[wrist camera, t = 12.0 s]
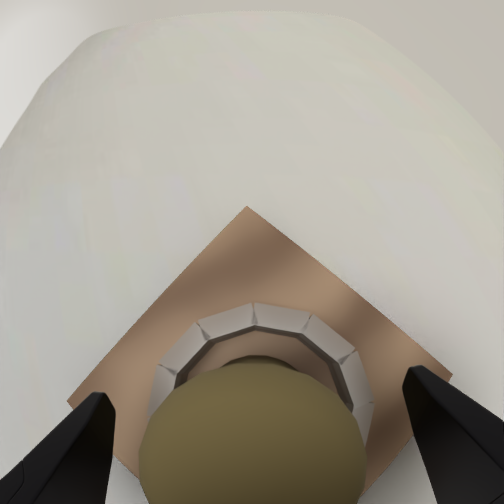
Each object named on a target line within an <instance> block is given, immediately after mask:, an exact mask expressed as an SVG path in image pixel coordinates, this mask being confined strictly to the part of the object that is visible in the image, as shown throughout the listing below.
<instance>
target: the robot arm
mask: <svg viewBox="0 0 504 504" xmlns="http://www.w3.org/2000/svg"><path fill="white" fill-rule="evenodd" d="M402 392H403V396H404V399H405V403H406V407H407V411H408V415H409V419H410V423H411V427H412V430H413V434H414V437H415V439H416V442H417V445H418V448H419V450H420V453H421V456H422V459H423V462H424V464H425V467H426V470H427V473H428V476H429V479H430V482H431V485H432V488H433V491H434V495H435V498H436V501H437V504H504V421H503V420H502V419H500V418H499V417H497V416H496V415H494V414H493V413H491V412H490V411H489V410H487V409H486V408H484V407H483V406H481V405H480V404H478V403H477V402H476V401H474V400H473V399H471V398H470V397H468V396H467V395H465V394H464V393H462V392H461V391H460V390H458V389H457V388H455V387H454V386H452V385H451V384H449V383H448V382H446V381H445V380H444V379H442V378H441V377H439V376H438V375H436V374H435V373H433V372H432V371H430V370H429V369H428V368H426V367H425V366H423V365H415V366H411V367H409V368H408V370H407V373H406V375H405V378H404V381H403V384H402ZM115 421H116V410H115V408H114V406H113V404H112V402H111V401H110V399H109V397H108V395H107V394H106V393H105V392H97V391H94V392H92V393H90V394H89V395H88V396H87V397H86V398H85V399H84V400H83V401H82V402H81V403H80V404H79V405H78V406H77V407H76V408H75V409H74V410H73V411H72V412H71V413H70V414H69V415H68V416H67V417H66V418H65V419H64V420H62V421H61V422H60V423H59V424H58V425H57V426H56V427H55V428H54V429H53V430H52V431H51V432H50V433H49V434H48V435H47V436H46V437H45V438H44V439H43V440H42V441H41V442H40V443H39V444H38V445H37V446H36V447H35V448H34V449H33V450H32V451H31V452H30V453H29V454H28V455H26V456H25V457H24V458H23V461H22V460H21V461H20V462H19V463H18V464H17V465H16V466H15V467H14V468H13V469H12V470H11V471H10V472H9V473H8V474H7V475H5V476H4V477H3V478H2V479H1V480H0V504H105V499H106V493H107V487H108V480H109V475H110V469H111V463H112V457H113V445H114V432H115Z"/></svg>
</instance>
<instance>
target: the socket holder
mask: <svg viewBox="0 0 504 504" xmlns="http://www.w3.org/2000/svg"><path fill="white" fill-rule="evenodd" d="M247 355H267V356H270V357H274V358H277V359H280V360H283V361H285V362H287V363H288V364H290V365H291V366H292V367H294V368H295V369H297V370H298V371H299V372H301V373H304V374H308V375H310V376H311V377H312V378H314V379H315V380H317V381H318V382H320V383H321V384H323V385H324V386H326V387H327V388H329V389H330V390H332V391H333V392H335V393H336V394H337V395H338V396H339V397H340V399H341V400H342V401H343V403H344V404H345V405H346V407H347V408H348V409H349V411H350V412H351V413H352V414H353V416H354V417H355V418H356V420H357V423H358V426H359V429H360V433H361V436H362V439H363V443H364V446H365V450H366V454H367V467H366V478H365V487H364V489H363V491H362V494H361V496H362V495H363V494H364V492H365V491H366V490H367V489H368V488H369V487H370V486H371V485H372V484H373V483H374V482H375V481H376V480H377V478H378V477H379V476H380V475H381V474H382V473H383V472H384V470H385V469H386V468H387V467H388V466H389V465H390V463H391V462H392V461H393V460H394V459H395V457H396V456H397V455H398V454H399V452H400V451H401V450H402V449H403V447H404V446H405V445H406V443H407V442H408V441H409V439H410V438H411V437H412V435H413V430H412V427H411V423H410V419H409V415H408V411H407V407H406V403H405V399H404V396H403V392H402V384H403V381H404V378H405V375H406V373H407V370H408V368H409V367H411V366H415V365H423V366H425V367H426V368H428V369H429V370H430V371H432V372H433V373H435V374H436V375H438V376H439V377H441V378H442V379H444V380H445V381H446V382H449V380H450V378H451V377H452V375H453V374H452V373H451V372H450V371H448V370H447V369H446V368H445V367H444V366H443V365H442V364H440V363H439V362H438V361H437V360H436V359H435V358H434V357H432V356H431V355H430V354H429V353H428V352H427V351H425V350H424V349H423V348H422V347H421V346H420V345H418V344H417V343H416V342H415V341H414V340H413V339H411V338H410V337H409V336H408V335H407V334H406V333H404V332H403V331H402V330H401V329H400V328H398V327H397V326H396V325H395V324H394V323H393V322H391V321H390V320H389V319H388V318H387V317H385V316H384V315H383V314H382V313H381V312H379V311H378V310H377V309H376V308H375V307H373V306H372V305H371V304H370V303H369V302H367V301H366V300H365V299H364V298H362V297H361V296H360V295H359V294H358V293H356V292H355V291H354V290H353V289H351V288H350V287H349V286H348V285H347V284H345V283H344V282H343V281H342V280H340V279H339V278H338V277H337V276H335V275H334V274H333V273H332V272H331V271H329V270H328V269H327V268H326V267H324V266H323V265H322V264H321V263H319V262H318V261H317V260H316V259H314V258H313V257H312V256H311V255H309V254H308V253H307V252H305V251H304V250H303V249H302V248H300V247H299V246H298V245H297V244H295V243H294V242H293V241H292V240H290V239H289V238H288V237H286V236H285V235H284V234H283V233H281V232H280V231H279V230H277V229H276V228H275V227H274V226H272V225H271V224H270V223H268V222H267V221H266V220H265V219H263V218H262V217H261V216H259V215H258V214H257V213H255V212H254V211H253V210H252V209H250V208H249V207H248V206H246V207H245V208H244V209H243V210H242V211H241V212H240V213H239V214H238V215H237V216H236V217H235V218H234V219H233V220H232V221H231V222H230V223H229V224H228V225H227V226H226V227H225V228H224V229H223V230H222V231H221V232H220V233H219V234H218V235H217V236H216V238H215V239H214V240H213V241H212V242H211V243H210V244H209V245H208V246H207V247H206V248H205V249H204V250H203V251H202V252H201V253H200V254H199V255H198V256H197V257H196V258H195V259H194V260H193V261H192V263H191V264H190V265H189V266H188V267H187V268H186V269H185V270H184V271H183V272H182V273H181V274H180V275H179V276H178V277H177V278H176V279H175V281H174V282H173V283H172V284H171V285H170V286H169V287H168V288H167V289H166V290H165V291H164V292H163V293H162V294H161V295H160V297H159V298H158V299H157V300H156V301H155V302H154V303H153V304H152V305H151V306H150V307H149V308H148V310H147V311H146V312H145V313H144V314H143V315H142V316H141V317H140V318H139V319H138V321H137V322H136V323H135V324H134V325H133V326H132V327H131V328H130V329H129V330H128V332H127V333H126V334H125V335H124V336H123V337H122V338H121V339H120V340H119V342H118V343H117V344H116V345H115V346H114V347H113V348H112V349H111V351H110V352H109V353H108V354H107V355H106V356H105V357H104V358H103V360H102V361H101V362H100V363H99V364H98V365H97V366H96V367H95V369H94V370H93V371H92V372H91V373H90V374H89V376H88V377H87V378H86V379H85V380H84V381H83V382H82V384H81V385H80V386H79V387H78V388H77V389H76V391H75V392H74V393H73V394H72V395H71V396H70V398H69V399H68V400H67V402H68V403H69V405H70V406H71V407H72V408H73V410H74V409H75V408H76V407H77V406H78V405H79V404H80V403H81V402H82V401H83V400H84V399H85V398H86V397H87V396H88V395H89V394H90V393H92V392H94V391H97V392H105V393H106V394H107V395H108V397H109V399H110V401H111V402H112V404H113V406H114V408H115V410H116V421H115V432H114V445H113V455H114V456H115V457H116V458H117V459H118V460H119V461H120V462H121V463H122V464H123V465H124V466H125V467H127V468H128V469H129V470H130V471H131V472H132V473H133V474H134V475H135V476H136V477H137V478H138V479H139V480H140V477H139V452H138V451H139V448H140V446H141V443H142V440H143V437H144V434H145V431H146V428H147V425H148V422H149V420H150V418H151V416H152V414H153V413H154V412H155V411H156V410H157V408H158V407H159V406H160V405H161V404H162V402H163V401H164V400H165V399H166V397H167V396H168V395H169V394H170V393H171V391H173V390H174V389H176V388H177V387H179V386H181V385H182V384H184V383H186V382H187V381H189V380H190V379H192V378H194V377H195V376H197V375H198V374H200V373H202V372H206V371H210V370H214V369H218V368H220V367H221V366H223V365H224V364H226V363H227V362H229V361H230V360H233V359H237V358H240V357H244V356H247ZM361 496H360V497H361Z"/></svg>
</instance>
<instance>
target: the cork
mask: <svg viewBox="0 0 504 504" xmlns="http://www.w3.org/2000/svg"><path fill="white" fill-rule="evenodd" d="M138 452H139V477H140V483H141V486H142V488H143V491H144V493H145V496H146V498H147V500H148V503H149V504H357V502H358V500H359V498H360V496H361V494H362V491H363V489H364V487H365V478H366V467H367V454H366V450H365V446H364V443H363V439H362V436H361V433H360V429H359V426H358V423H357V420H356V418H355V417H354V416H353V414H352V413H351V412H350V411H349V409H348V408H347V407H346V405H345V404H344V403H343V401H342V400H341V399H340V397H339V396H338V395H337V394H336V393H335V392H333V391H332V390H330V389H329V388H327V387H326V386H324V385H323V384H321V383H320V382H318V381H317V380H315V379H314V378H312V377H311V376H310V375H308V374H304V373H301V372H299V371H298V370H297V369H295V368H294V367H292V366H291V365H290V364H288V363H287V362H285V361H283V360H280V359H277V358H274V357H270V356H267V355H247V356H244V357H240V358H237V359H233V360H230V361H229V362H227V363H226V364H224V365H223V366H221V367H220V368H218V369H214V370H210V371H206V372H202V373H200V374H198V375H197V376H195V377H194V378H192V379H190V380H189V381H187V382H186V383H184V384H182V385H181V386H179V387H177V388H176V389H174V390H173V391H171V393H170V394H169V395H168V396H167V397H166V399H165V400H164V401H163V402H162V404H161V405H160V406H159V407H158V408H157V410H156V411H155V412H154V413H153V414H152V416H151V418H150V420H149V422H148V425H147V428H146V431H145V434H144V437H143V440H142V443H141V446H140V448H139V451H138Z"/></svg>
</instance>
